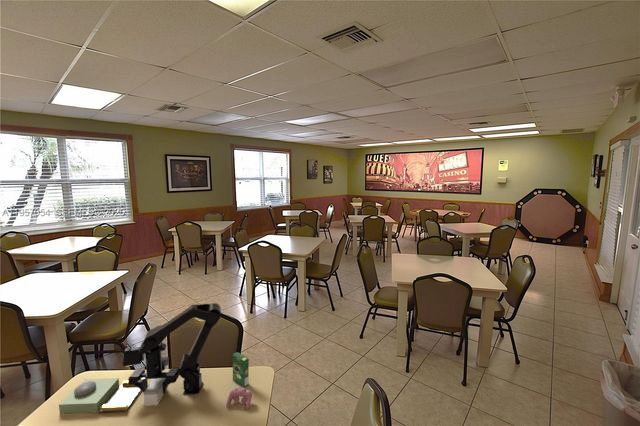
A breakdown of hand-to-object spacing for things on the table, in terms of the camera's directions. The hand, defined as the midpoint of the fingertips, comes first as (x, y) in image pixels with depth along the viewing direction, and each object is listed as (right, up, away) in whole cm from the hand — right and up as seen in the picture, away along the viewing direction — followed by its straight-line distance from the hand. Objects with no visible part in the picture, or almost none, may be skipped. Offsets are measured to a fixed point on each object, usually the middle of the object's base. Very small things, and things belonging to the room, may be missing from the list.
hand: (156, 394), depth 122 cm
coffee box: (+33, -1, +10) cm, 35 cm away
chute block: (0, -1, 0) cm, 1 cm away
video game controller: (+36, -3, -3) cm, 36 cm away
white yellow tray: (-13, -1, -1) cm, 13 cm away
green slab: (-26, -1, -2) cm, 26 cm away
